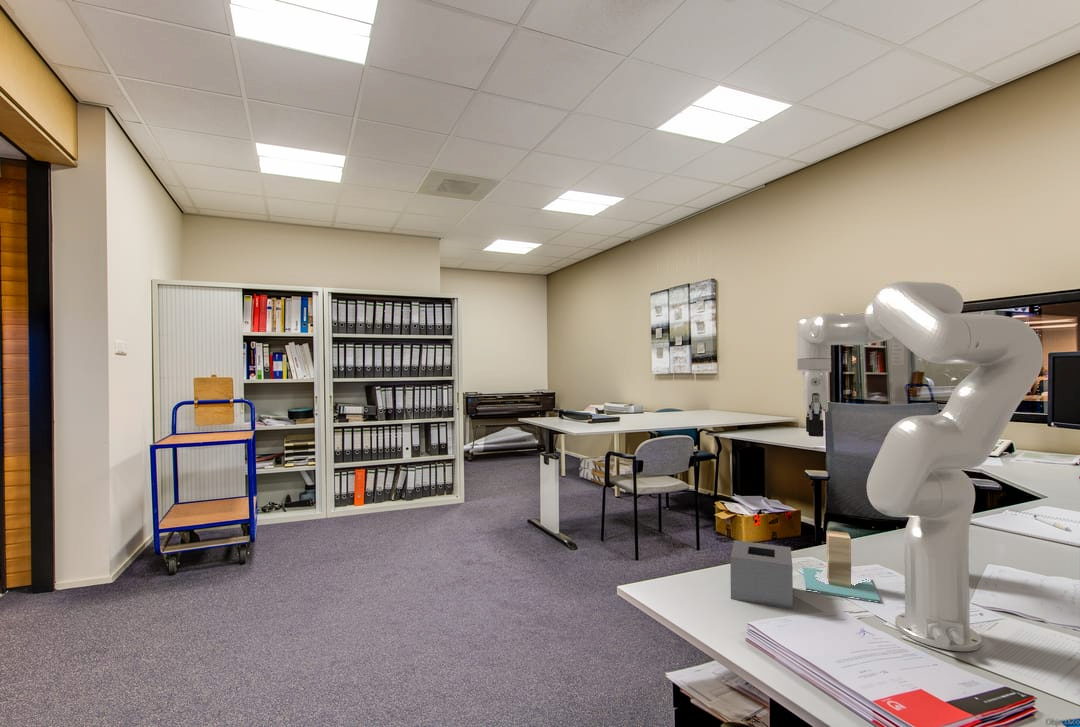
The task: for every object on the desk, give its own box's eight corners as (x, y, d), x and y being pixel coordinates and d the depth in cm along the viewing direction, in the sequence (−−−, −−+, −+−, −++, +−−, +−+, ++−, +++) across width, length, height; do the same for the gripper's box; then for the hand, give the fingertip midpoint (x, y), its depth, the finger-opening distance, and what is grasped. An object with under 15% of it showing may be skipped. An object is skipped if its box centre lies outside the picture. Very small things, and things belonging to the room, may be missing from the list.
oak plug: (851, 587, 114) (850, 538, 114) (828, 584, 116) (828, 535, 116) (848, 580, 118) (848, 532, 118) (826, 577, 120) (826, 530, 120)
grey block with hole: (792, 609, 105) (792, 565, 105) (730, 598, 110) (730, 556, 110) (790, 587, 116) (790, 547, 116) (734, 578, 121) (734, 540, 121)
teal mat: (880, 603, 108) (880, 600, 108) (806, 591, 114) (806, 588, 114) (869, 579, 120) (869, 576, 120) (802, 569, 126) (802, 567, 126)
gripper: (834, 365, 119) (835, 439, 119) (827, 366, 135) (828, 431, 135) (798, 365, 123) (799, 437, 122) (795, 367, 138) (796, 430, 138)
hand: (814, 434), depth 128 cm, fingers open, 9 cm apart
